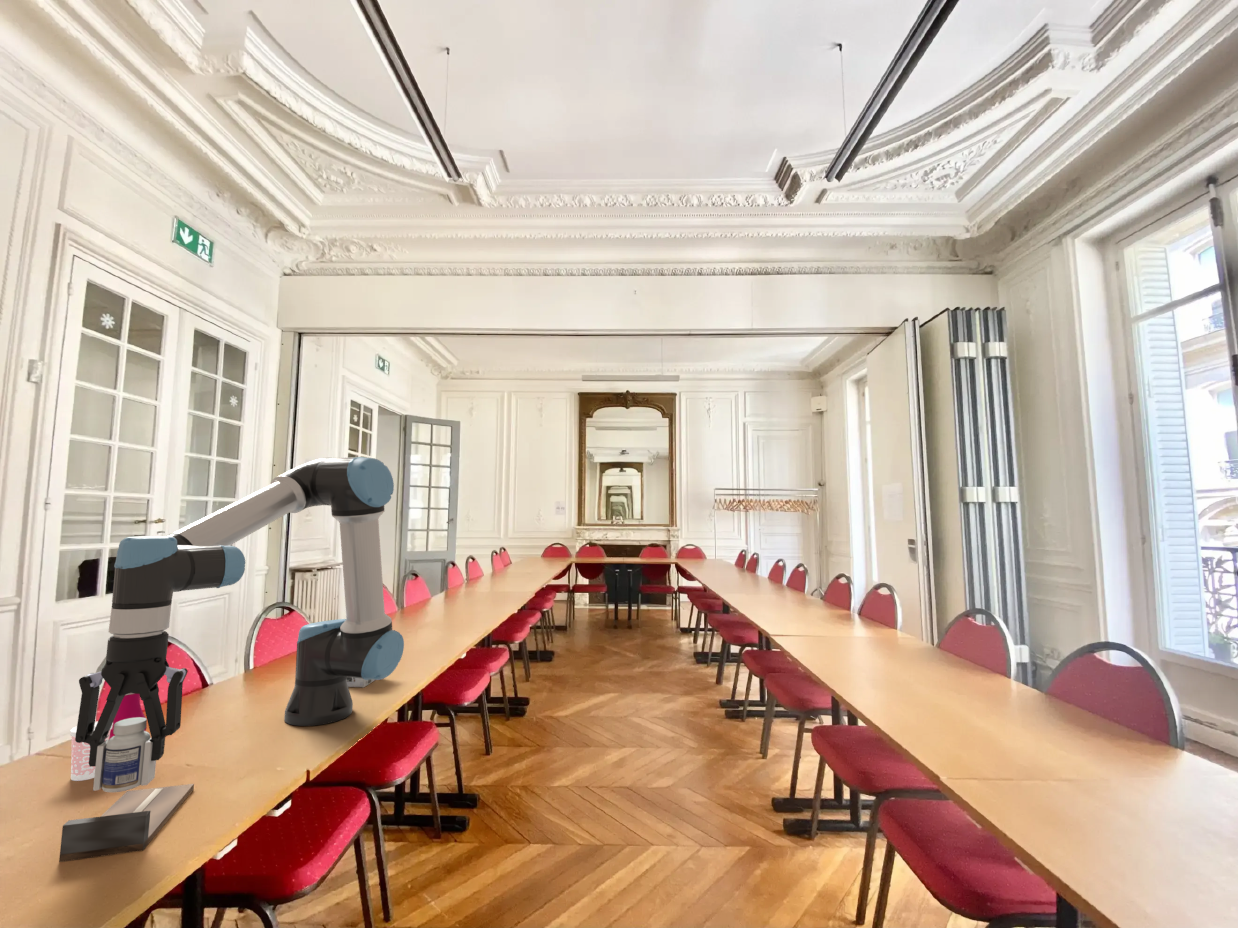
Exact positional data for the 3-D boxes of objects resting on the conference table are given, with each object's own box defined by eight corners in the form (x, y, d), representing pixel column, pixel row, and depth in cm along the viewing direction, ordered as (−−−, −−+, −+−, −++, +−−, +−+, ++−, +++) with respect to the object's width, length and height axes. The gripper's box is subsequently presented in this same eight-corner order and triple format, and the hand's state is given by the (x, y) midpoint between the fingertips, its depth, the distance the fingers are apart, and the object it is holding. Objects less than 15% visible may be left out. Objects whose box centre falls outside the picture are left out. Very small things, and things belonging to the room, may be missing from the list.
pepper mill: (118, 760, 116) (127, 659, 118) (89, 757, 117) (99, 656, 119) (153, 746, 123) (162, 651, 125) (126, 743, 124) (135, 649, 126)
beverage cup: (58, 785, 106) (66, 706, 107) (74, 771, 111) (81, 696, 112) (100, 779, 108) (108, 702, 109) (114, 766, 114) (121, 693, 115)
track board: (193, 789, 105) (195, 760, 105) (142, 850, 86) (146, 815, 86) (126, 796, 102) (129, 767, 102) (59, 862, 83) (62, 825, 83)
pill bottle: (123, 777, 93) (129, 715, 94) (155, 778, 93) (161, 716, 94) (91, 793, 88) (98, 726, 88) (125, 794, 87) (132, 728, 88)
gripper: (214, 626, 99) (202, 767, 97) (81, 630, 93) (65, 780, 91) (198, 635, 92) (184, 787, 90) (53, 640, 86) (34, 803, 84)
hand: (124, 783), depth 90 cm, fingers closed on pill bottle, 5 cm apart
